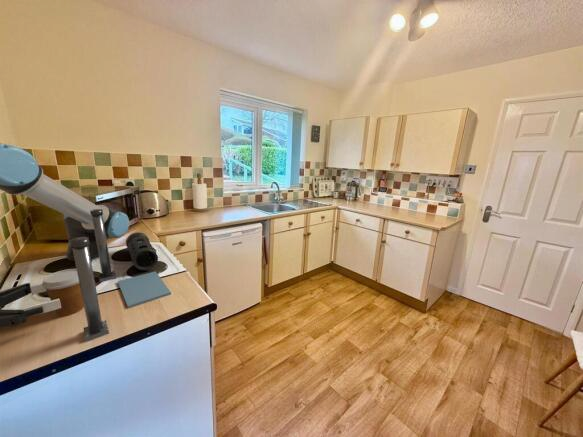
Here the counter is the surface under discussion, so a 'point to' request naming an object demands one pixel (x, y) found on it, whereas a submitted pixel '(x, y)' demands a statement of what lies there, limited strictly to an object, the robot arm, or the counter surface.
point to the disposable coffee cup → (64, 291)
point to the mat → (143, 289)
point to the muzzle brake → (141, 251)
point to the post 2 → (102, 246)
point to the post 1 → (88, 289)
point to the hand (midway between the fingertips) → (60, 292)
